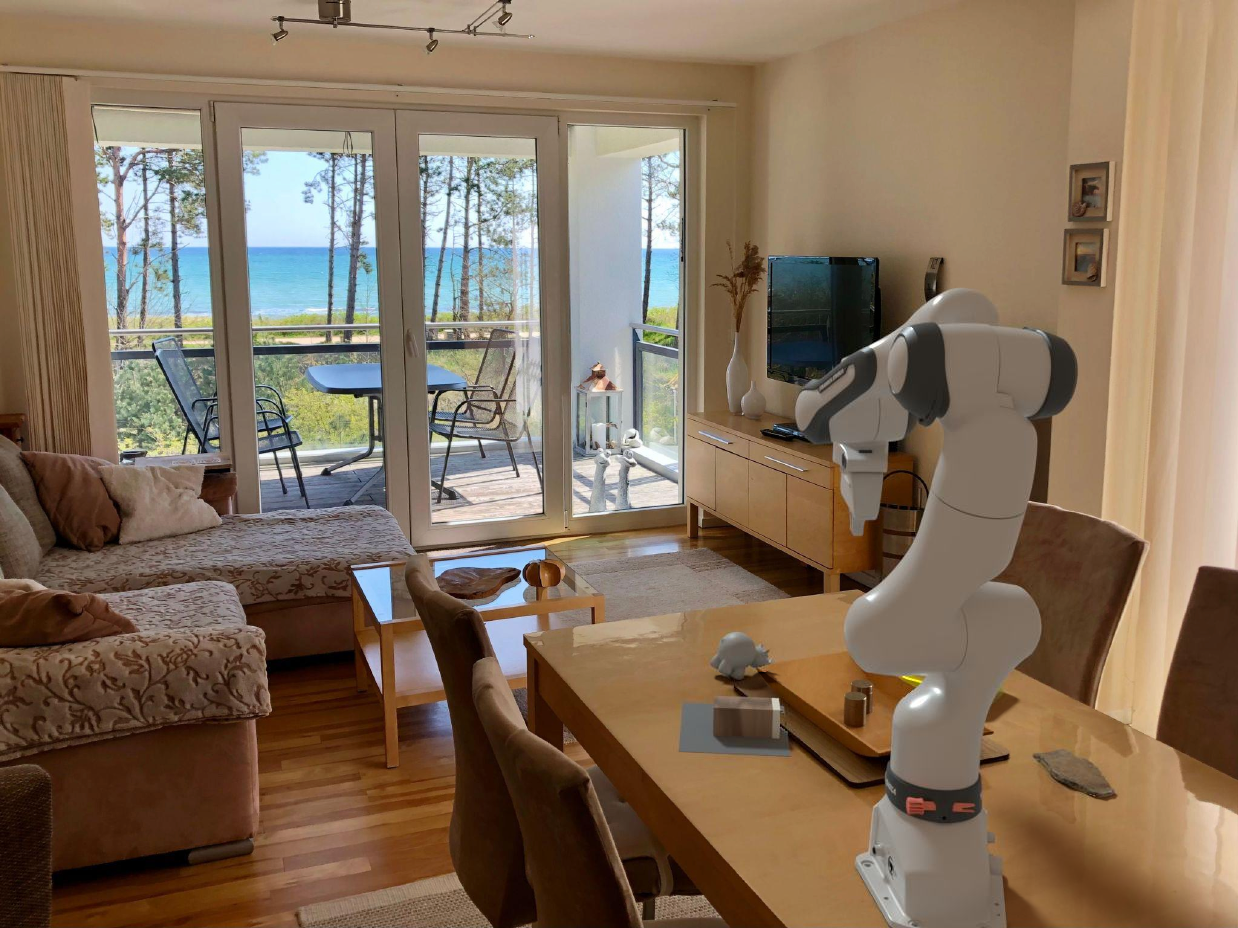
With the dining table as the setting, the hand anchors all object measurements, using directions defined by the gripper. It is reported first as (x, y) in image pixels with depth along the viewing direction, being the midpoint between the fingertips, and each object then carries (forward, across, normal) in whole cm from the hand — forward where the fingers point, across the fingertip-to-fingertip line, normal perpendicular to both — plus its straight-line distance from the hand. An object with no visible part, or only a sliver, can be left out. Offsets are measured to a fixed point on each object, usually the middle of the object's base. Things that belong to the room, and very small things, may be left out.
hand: (856, 533), depth 183 cm
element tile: (+35, -16, +21) cm, 44 cm away
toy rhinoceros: (+34, -22, -17) cm, 44 cm away
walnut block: (+31, +5, -23) cm, 39 cm away
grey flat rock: (+35, +16, +33) cm, 50 cm away
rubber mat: (+34, +4, -20) cm, 39 cm away
